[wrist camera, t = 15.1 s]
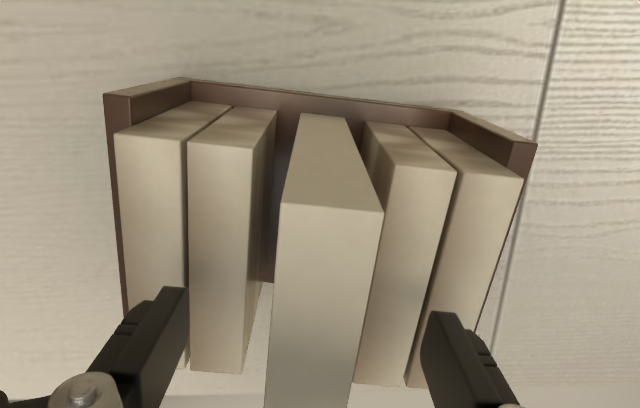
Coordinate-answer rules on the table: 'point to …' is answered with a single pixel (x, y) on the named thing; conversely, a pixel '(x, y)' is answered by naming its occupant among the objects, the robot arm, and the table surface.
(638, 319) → the table surface
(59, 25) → the table surface
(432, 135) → the brown book stand
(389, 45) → the table surface
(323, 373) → the white book
